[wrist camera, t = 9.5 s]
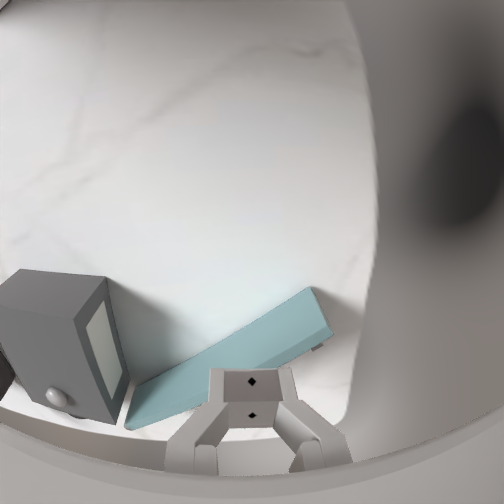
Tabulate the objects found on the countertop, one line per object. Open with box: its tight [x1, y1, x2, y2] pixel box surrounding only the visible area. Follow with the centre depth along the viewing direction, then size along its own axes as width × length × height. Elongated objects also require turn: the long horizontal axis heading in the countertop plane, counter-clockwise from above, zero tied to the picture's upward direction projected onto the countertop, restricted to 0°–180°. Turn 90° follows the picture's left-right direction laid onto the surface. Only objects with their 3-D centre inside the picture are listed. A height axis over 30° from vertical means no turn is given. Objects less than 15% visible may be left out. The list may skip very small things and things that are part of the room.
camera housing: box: [0, 269, 130, 425], centre depth 20 cm, size 13×10×7 cm
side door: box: [124, 287, 334, 430], centre depth 21 cm, size 20×2×5 cm, turn 126°
